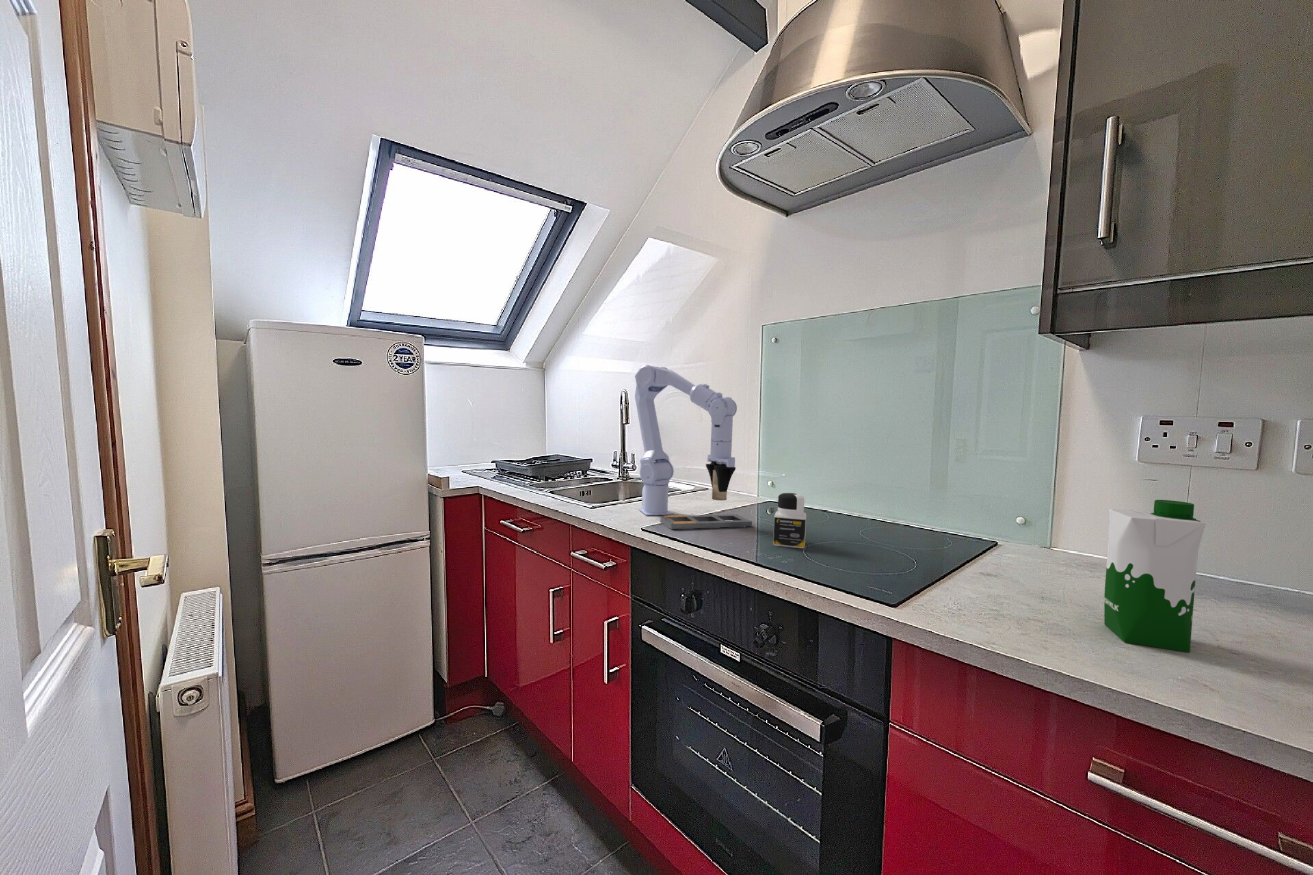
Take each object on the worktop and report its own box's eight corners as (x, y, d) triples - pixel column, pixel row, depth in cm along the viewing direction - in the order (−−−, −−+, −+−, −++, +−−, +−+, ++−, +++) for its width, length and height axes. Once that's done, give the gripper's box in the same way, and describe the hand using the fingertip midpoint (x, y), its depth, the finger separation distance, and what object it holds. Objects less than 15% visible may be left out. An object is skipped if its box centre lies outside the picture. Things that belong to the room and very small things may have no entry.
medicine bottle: (772, 545, 122) (775, 494, 122) (775, 538, 129) (777, 490, 129) (804, 548, 120) (806, 497, 120) (805, 541, 127) (807, 492, 127)
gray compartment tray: (660, 521, 145) (660, 515, 145) (736, 519, 151) (736, 513, 151) (671, 529, 136) (671, 523, 135) (751, 526, 142) (752, 520, 142)
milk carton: (1202, 657, 70) (1215, 508, 69) (1117, 643, 73) (1128, 502, 72) (1168, 632, 78) (1179, 499, 77) (1093, 621, 81) (1102, 493, 80)
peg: (709, 498, 146) (710, 469, 145) (722, 497, 147) (724, 469, 146) (715, 500, 142) (716, 471, 141) (728, 500, 143) (730, 471, 143)
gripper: (746, 443, 138) (744, 494, 138) (724, 439, 151) (722, 486, 152) (721, 443, 136) (719, 494, 136) (701, 439, 150) (699, 486, 150)
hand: (719, 490), depth 144 cm, fingers closed on peg, 4 cm apart
